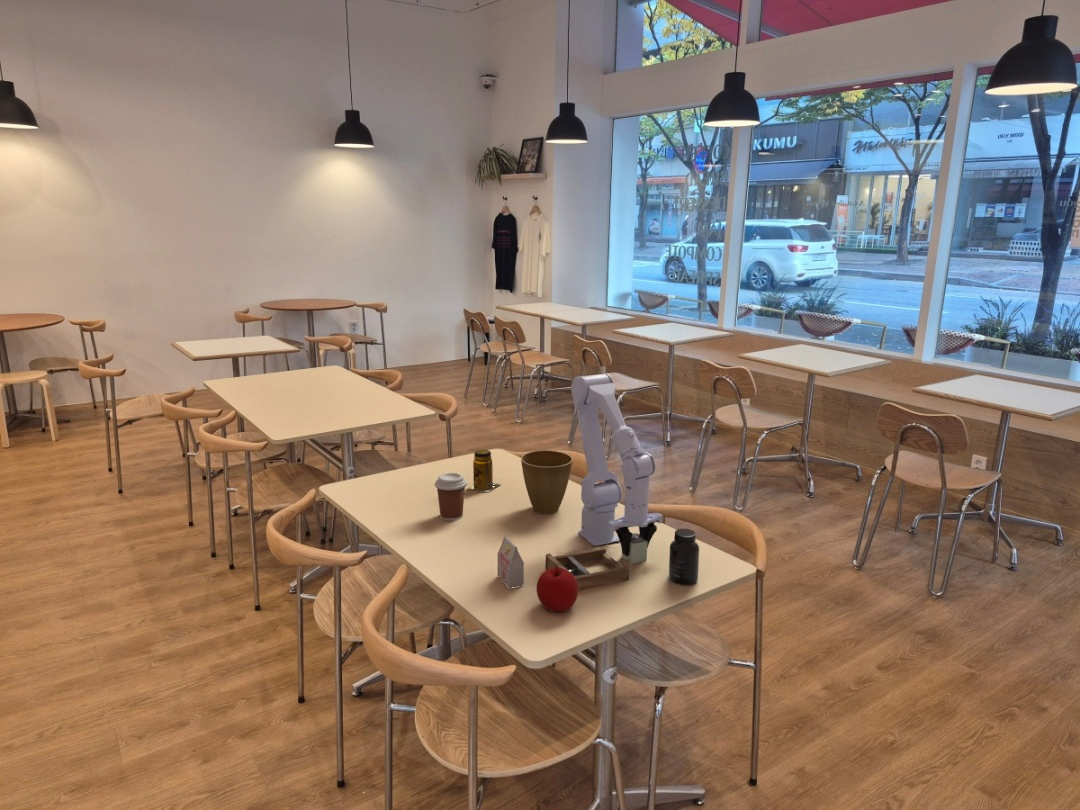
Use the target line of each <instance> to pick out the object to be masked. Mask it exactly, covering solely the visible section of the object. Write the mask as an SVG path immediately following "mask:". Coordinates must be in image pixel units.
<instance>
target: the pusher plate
mask: <svg viewBox="0 0 1080 810" xmlns="http://www.w3.org/2000/svg"><path fill="white" fill-rule="evenodd" d="M566 569H567V570H568V571H569V572H570V573H571V574H572V575H573V576H579V575H584V574H589V573H591V572H590V571H588V570H587V568H585V566H583V565H581V564H580V563H579V562H577V561H576V560H575V559H574V558H573V557H572V556H570V557H567V568H566Z"/></svg>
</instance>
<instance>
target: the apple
mask: <svg viewBox="0 0 1080 810" xmlns="http://www.w3.org/2000/svg"><path fill="white" fill-rule="evenodd" d="M567 570H568V569H567ZM567 570H565V569H563V568H559V567H555V568H551V569H548V570H545V571H543V572H542V573H540V575H539V577H538V579H537V582H536V595H537V598H538V600H539V602H540V603H541V605H543V607H544V608H545V609H547V610H549V611H552V612H560V613H562V612H566V611H568V610H569V609H571V608H572V607H573V606H574V604H575V603H576V601H577V598H578V595H579V590H578V584H577V581H576V579H575V577H574V575H573V574H571V573H570V572H569V571H567Z"/></svg>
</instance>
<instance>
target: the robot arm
mask: <svg viewBox="0 0 1080 810" xmlns="http://www.w3.org/2000/svg"><path fill="white" fill-rule="evenodd" d="M616 388H617V386H616V385H615V382H614V379H613V377H612V375H610V374H609V373H608V372H604V373H599V374H592V375H578V376H576V377H575V378H574V379H573V381H572V384H571V385H570V390H571V396H572V401H573V407H574V409H576V415H577V420H578V425H579V430H580V431H579V432H580V435H581V440H582V441H581V442H582V446H583V452H584V457H585V463H586V468H587V474H585V476H584V477H583V479H582V480H581V482H580V485H581V491H580V498H581V501H582V504H583V507H582V508H581V528H580V529H581V530H578V531H577V533H578V534H579V535H580V536H581V537H582V538H584V539H585V540H586V541H587V542H588V543H590V544H591V545H592V546H594V547H596V546H602V545H607V544H613V543H620V547H621V554H622V553H623V554H624V555H625V556H629V552H630V541H631V537H632V535H633V534H632V533H633V532H631V531H630V529H629V528H634V527H638V533H639V534H641V535H642V536H643V539H645V540H646V541H647V549H648V548H649V545H650V543H651V540H652V538H653V536H654V535H655V533H656V532H657V529H658V527H657V525H655V524H656V523H657V524H661V523H663V516H664V515H663V514H661V513H659V512H653V513H649V497H650V495H649V494H650V477H651V476H653V475H654V473H655V471H656V463H655V459H654V457H653V456H652V455H651V454H650V453H649V452H647V450H646V449H645V448H644V449H643V447H642V445H641V444H640V441H639V439H638V436H637V435H636V433H635V431H634V429H633V428H632V427H629V426H627V425H626V422H625V419H624V416H623V415H622V412H621V409H620V407H619V404H618V401H617V399H616V396H615V394H616V391H617V390H616ZM599 409H600V411H601V413H602V415H603V416H604V418H605V420H606V421H607V423H608V425H609V427H610V429H611V431H613V433H612V436H611V440H612V442H613V444H614V446H615V448H616V451H617V453H618V454H619V456H620V458H621V461H622V464H621V465H620V469H621V473H622V476H623V483H624V485H625V489H624V490H625V492H624V493H625V495H624V496H625V497H624V515H623V516H621V517H618V518H615V517H616V515H615V514H616V508H617V507H618V504H619V503H620V502H621V501H622V500H623V489H622V486H621V484H620V482H619V480H618V476H617V474H616V473H614V472H613V471H611V470H609V467H608V462H607V461H608V460H607V456H606V450H605V446H604V441H603V436H602V430H601V425H600V420H599V415H598V410H599ZM615 533H616V535H617V536H616V535H615Z"/></svg>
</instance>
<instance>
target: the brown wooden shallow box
mask: <svg viewBox="0 0 1080 810" xmlns="http://www.w3.org/2000/svg"><path fill="white" fill-rule="evenodd" d="M570 556H572V557H573V558H574V559H575V560H576V561H577V562H579V563H580V564H581V565H582V566H583V565H588V564H594V563H599V562H602V563H603V564H604V565H605V566H607V567H608V568H609V569H605V570H600V571H599V570H598V571H595V572H590V573H589V574H584V575H579V576H574V575H573V576H574V577H575V579H576V581H577V584H578V591H581V590H586V589H591V587H592V588H596V587H601V586H605V585H611V584H614V583H620V582H624V581H629V580H630V567H629V566H627V565H625V566H622V565H621V564H620V563H619V562H618V561H616V559H614V558H613V557H612V556H611V555H609V554H608V553H607V548H605V547H598V548H593V549H587V550H582V551H575V552H571V553H565V554H561V555H560V554H559V555H555V556H554V555H552V553H546V554H545V568H544V569H546V570H548V569H551V568H555V567H559V568H563V569H565V570H567V571H568V569H567V557H570ZM546 570H545V571H546Z"/></svg>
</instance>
